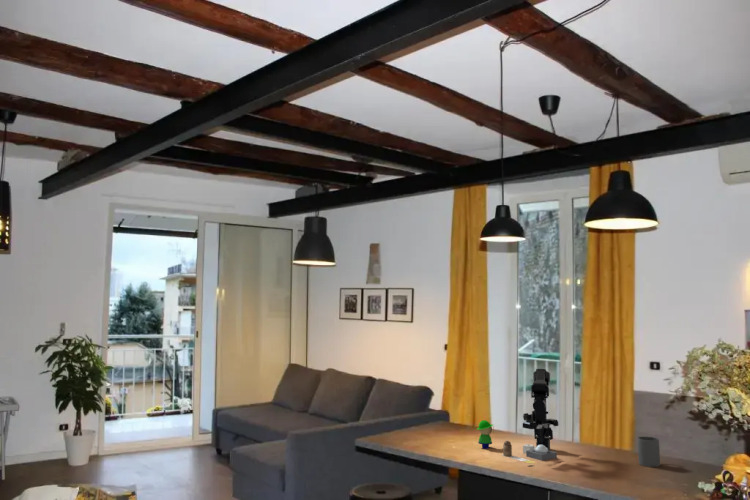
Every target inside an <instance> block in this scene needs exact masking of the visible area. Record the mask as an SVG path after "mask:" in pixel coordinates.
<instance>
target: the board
mask: <svg viewBox="0 0 750 500" xmlns="http://www.w3.org/2000/svg"><path fill="white" fill-rule="evenodd" d="M501 456H502V457H505V458H510V459H513V460H517V461H521V462H524V463H527V464H535V463H537V462H536V461H533V460H529V459H528V458H527V459H526V458H522V457H519V456H515V455H513V454H512V456H504V455H503V454H502V455H501ZM529 467H535V465H528V468H529Z"/></svg>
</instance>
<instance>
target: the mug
mask: <svg viewBox="0 0 750 500" xmlns="http://www.w3.org/2000/svg"><path fill="white" fill-rule="evenodd" d="M659 440H660V439H659V438H657V437H653V436H638V437H637V452H638V455H637V456H638V465H640V466H643V467H647V468H658V467H660V465H661V456H660V455H661V454H660V441H659Z"/></svg>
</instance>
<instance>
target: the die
mask: <svg viewBox="0 0 750 500" xmlns="http://www.w3.org/2000/svg"><path fill="white" fill-rule="evenodd" d="M528 450H535V445H533V444H527V443H526V444H523V445H522V453H523V454H525V455H526V451H528Z"/></svg>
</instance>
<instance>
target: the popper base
mask: <svg viewBox="0 0 750 500" xmlns="http://www.w3.org/2000/svg"><path fill="white" fill-rule="evenodd" d="M557 455H558V452H557V451H553V450H550V449H549V450H548V453H543V454H541V453H537V452H535V449H534V450H528V451H526V454H525V456H526V457H527V458H530V459H534V460H537V461H541V462H542V461H548V460H554V459H555V460H556V459H558V456H557Z"/></svg>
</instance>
